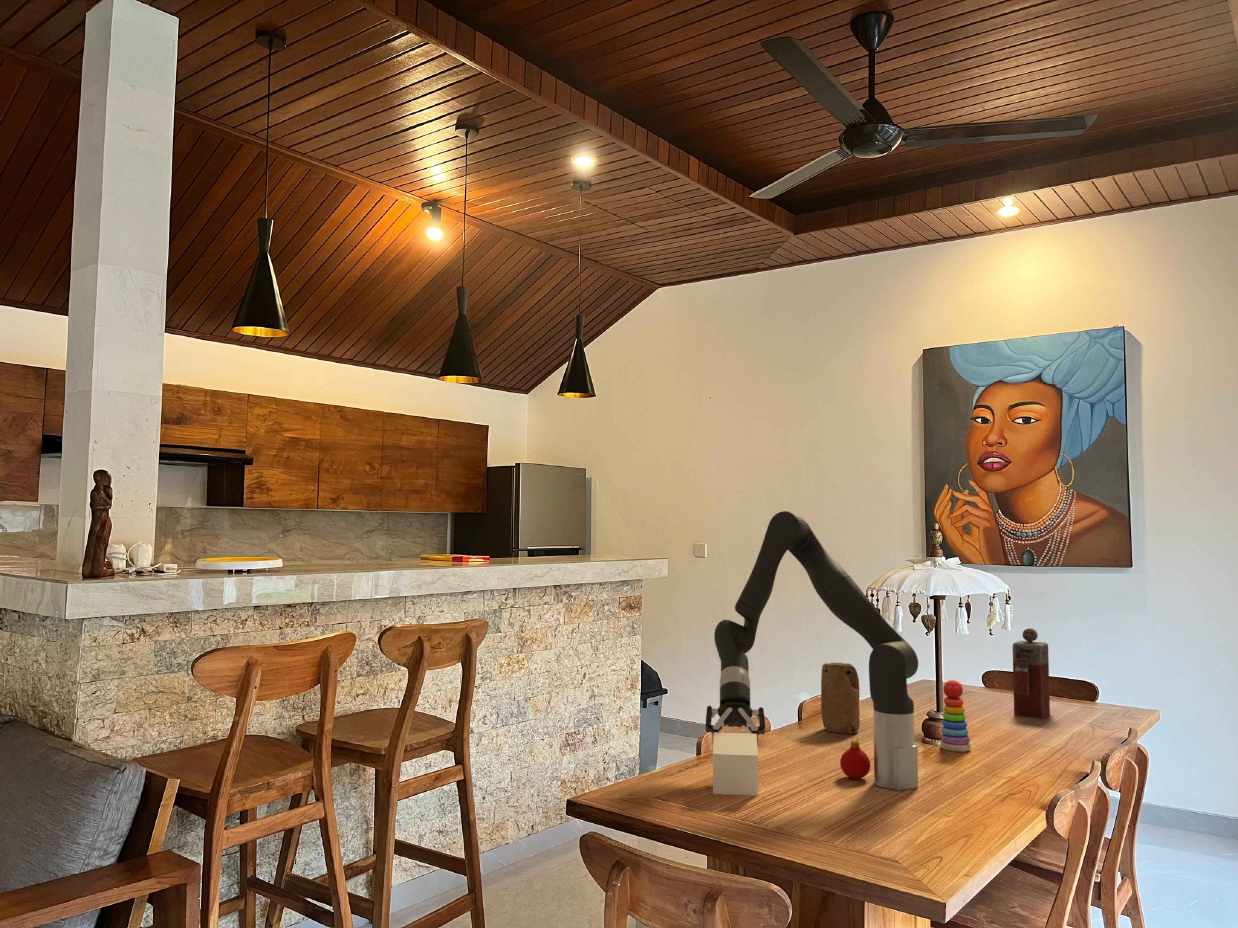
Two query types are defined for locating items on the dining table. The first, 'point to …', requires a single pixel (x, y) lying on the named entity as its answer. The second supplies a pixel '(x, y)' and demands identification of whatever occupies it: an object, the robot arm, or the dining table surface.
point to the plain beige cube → (735, 764)
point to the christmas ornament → (855, 762)
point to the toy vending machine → (1031, 676)
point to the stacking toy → (954, 720)
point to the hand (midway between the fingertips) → (735, 747)
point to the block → (840, 698)
